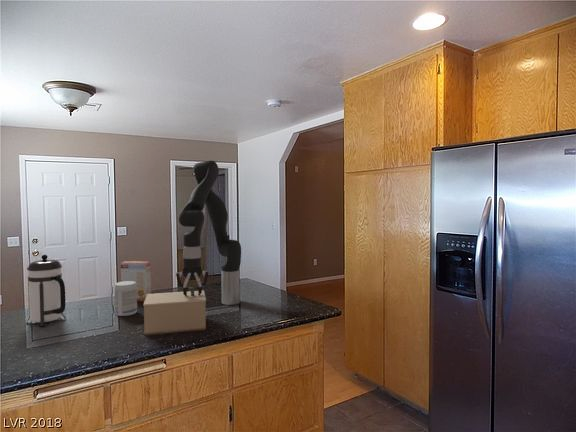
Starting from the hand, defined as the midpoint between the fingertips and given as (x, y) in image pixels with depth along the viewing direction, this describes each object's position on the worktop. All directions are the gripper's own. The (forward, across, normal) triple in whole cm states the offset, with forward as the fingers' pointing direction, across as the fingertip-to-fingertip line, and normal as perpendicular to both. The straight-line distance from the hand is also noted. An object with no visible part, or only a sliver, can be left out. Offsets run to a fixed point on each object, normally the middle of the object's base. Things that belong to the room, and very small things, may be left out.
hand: (192, 295), depth 160 cm
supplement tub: (+13, +30, -24) cm, 41 cm away
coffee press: (+13, +61, -20) cm, 66 cm away
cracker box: (+13, +28, -47) cm, 56 cm away
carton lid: (+1, +7, 0) cm, 7 cm away
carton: (+13, +7, 0) cm, 15 cm away
